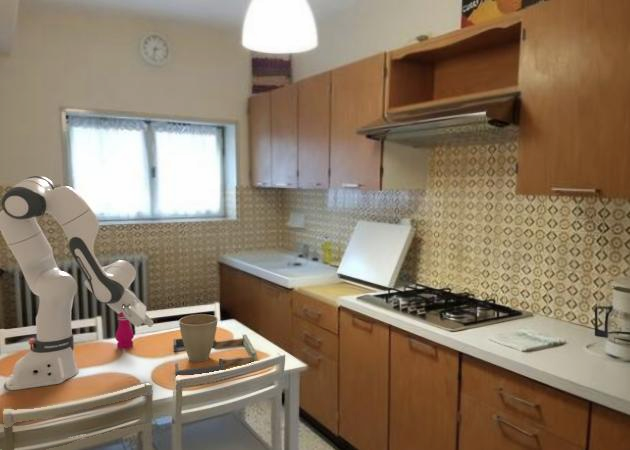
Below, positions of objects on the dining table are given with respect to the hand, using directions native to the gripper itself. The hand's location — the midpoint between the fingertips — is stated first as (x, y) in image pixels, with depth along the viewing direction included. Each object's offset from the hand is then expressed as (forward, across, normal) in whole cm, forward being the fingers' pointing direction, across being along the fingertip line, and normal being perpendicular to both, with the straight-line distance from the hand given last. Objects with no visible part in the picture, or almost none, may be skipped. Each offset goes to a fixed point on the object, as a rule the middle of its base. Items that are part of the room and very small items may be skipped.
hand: (152, 324), depth 177 cm
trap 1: (+22, +14, -1) cm, 27 cm away
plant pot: (+23, 0, -1) cm, 23 cm away
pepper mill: (+3, +24, +20) cm, 31 cm away
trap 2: (+23, -15, -1) cm, 27 cm away
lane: (+33, 0, -11) cm, 35 cm away
